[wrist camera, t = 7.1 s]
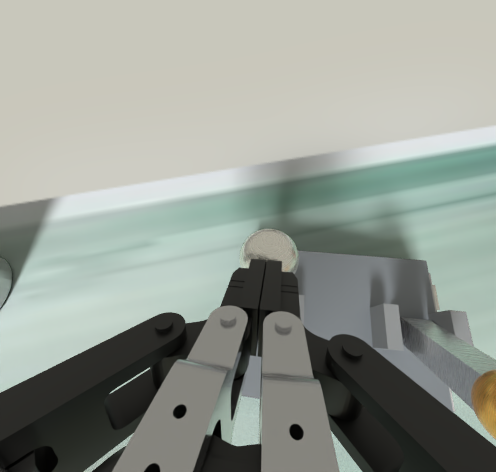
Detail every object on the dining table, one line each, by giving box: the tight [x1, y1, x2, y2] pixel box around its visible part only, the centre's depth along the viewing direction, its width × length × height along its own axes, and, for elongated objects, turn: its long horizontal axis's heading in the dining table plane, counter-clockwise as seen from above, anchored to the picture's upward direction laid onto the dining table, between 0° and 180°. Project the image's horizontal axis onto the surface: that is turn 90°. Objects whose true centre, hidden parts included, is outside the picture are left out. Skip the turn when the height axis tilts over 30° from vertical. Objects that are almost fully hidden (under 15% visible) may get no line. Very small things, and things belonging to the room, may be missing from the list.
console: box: [242, 251, 474, 412], centre depth 20 cm, size 17×12×7 cm
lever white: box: [240, 229, 299, 274], centre depth 16 cm, size 3×3×10 cm
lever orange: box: [400, 317, 496, 439], centre depth 13 cm, size 3×3×10 cm
